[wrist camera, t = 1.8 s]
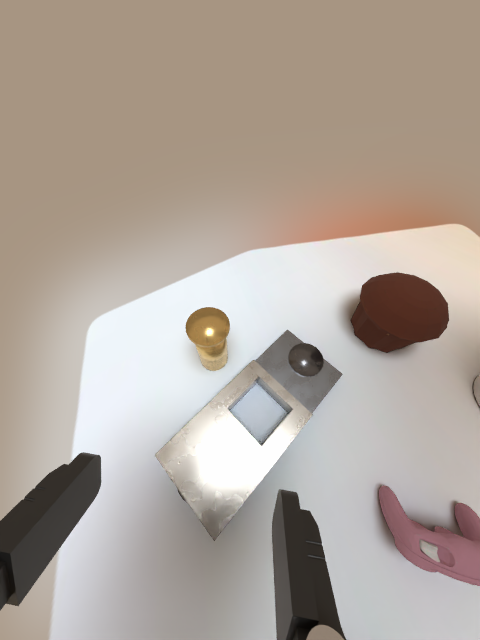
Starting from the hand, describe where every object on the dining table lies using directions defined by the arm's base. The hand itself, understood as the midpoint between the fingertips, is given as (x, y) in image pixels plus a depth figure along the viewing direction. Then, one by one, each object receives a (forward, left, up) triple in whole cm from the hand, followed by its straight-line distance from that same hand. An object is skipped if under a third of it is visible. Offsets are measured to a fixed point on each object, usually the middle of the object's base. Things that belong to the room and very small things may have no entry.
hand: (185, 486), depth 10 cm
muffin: (-32, +4, -21) cm, 38 cm away
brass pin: (-9, -11, -20) cm, 25 cm away
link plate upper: (-4, -1, -20) cm, 21 cm away
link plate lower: (-12, -1, -20) cm, 24 cm away
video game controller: (-12, +20, -21) cm, 31 cm away
